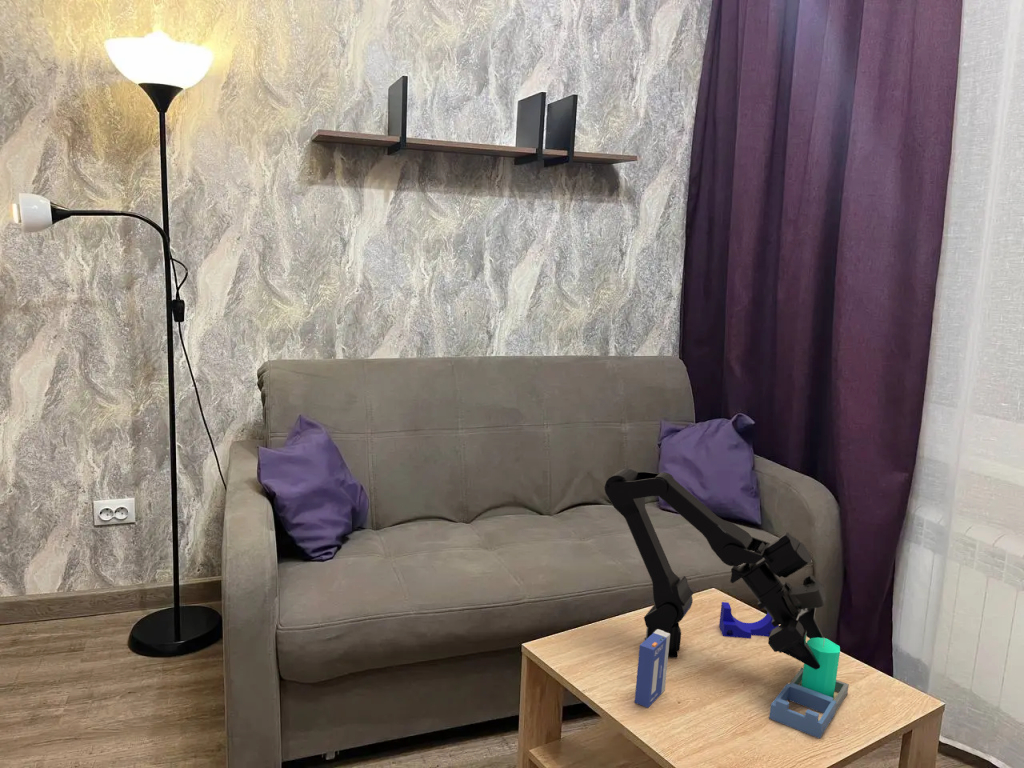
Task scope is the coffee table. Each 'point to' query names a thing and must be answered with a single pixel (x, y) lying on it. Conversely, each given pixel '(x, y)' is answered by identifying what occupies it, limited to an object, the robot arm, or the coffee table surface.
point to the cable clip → (743, 625)
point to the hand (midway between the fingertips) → (821, 657)
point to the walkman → (652, 668)
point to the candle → (822, 667)
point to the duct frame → (810, 700)
